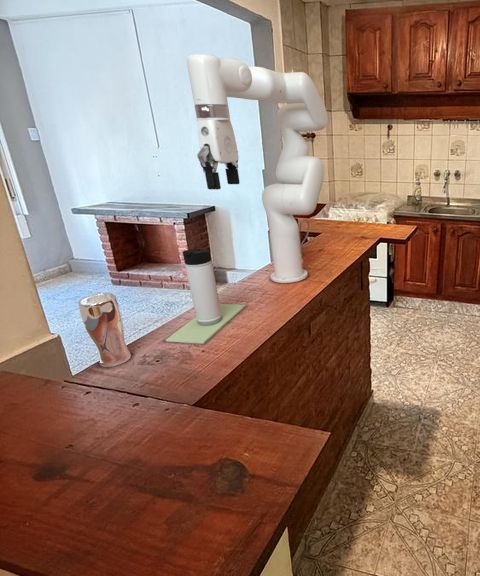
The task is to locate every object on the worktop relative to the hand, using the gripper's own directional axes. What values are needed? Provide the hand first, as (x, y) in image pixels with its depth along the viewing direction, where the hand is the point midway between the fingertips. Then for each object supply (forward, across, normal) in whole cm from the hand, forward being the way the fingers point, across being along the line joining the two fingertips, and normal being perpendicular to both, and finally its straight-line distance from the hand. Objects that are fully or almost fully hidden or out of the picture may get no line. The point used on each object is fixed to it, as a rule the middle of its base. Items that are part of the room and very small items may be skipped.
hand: (224, 186), depth 102 cm
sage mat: (+34, -10, +5) cm, 36 cm away
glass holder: (+34, +52, +2) cm, 62 cm away
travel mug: (+34, -10, +5) cm, 36 cm away
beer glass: (+34, -30, +16) cm, 48 cm away
